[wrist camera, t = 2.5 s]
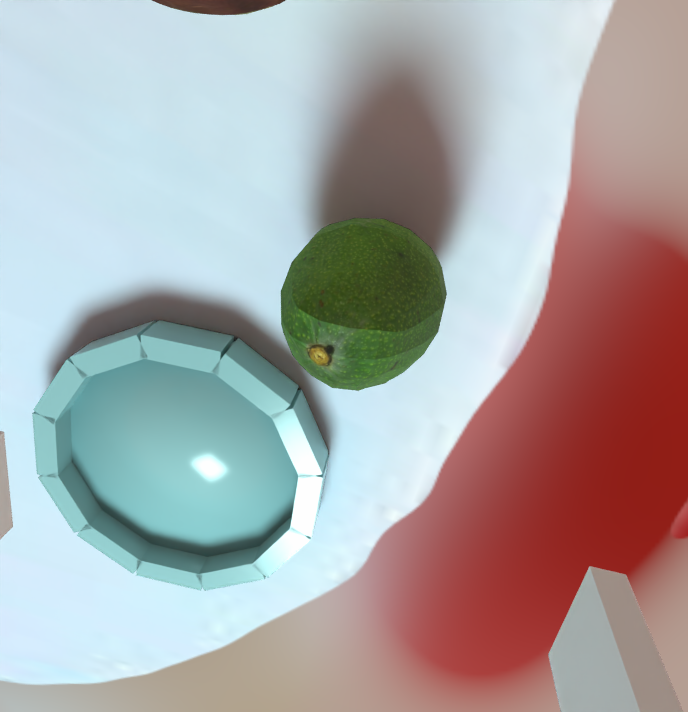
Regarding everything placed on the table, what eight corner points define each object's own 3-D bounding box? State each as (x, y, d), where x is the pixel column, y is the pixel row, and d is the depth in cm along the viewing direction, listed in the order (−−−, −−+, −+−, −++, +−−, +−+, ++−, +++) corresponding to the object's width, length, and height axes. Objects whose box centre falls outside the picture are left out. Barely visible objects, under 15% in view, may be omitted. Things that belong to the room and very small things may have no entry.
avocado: (321, 185, 31) (263, 229, 20) (462, 225, 31) (480, 292, 20) (291, 318, 34) (227, 419, 23) (417, 355, 34) (412, 473, 23)
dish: (50, 297, 36) (24, 310, 34) (346, 359, 35) (341, 377, 32) (62, 529, 44) (42, 553, 41) (304, 586, 43) (297, 613, 40)
